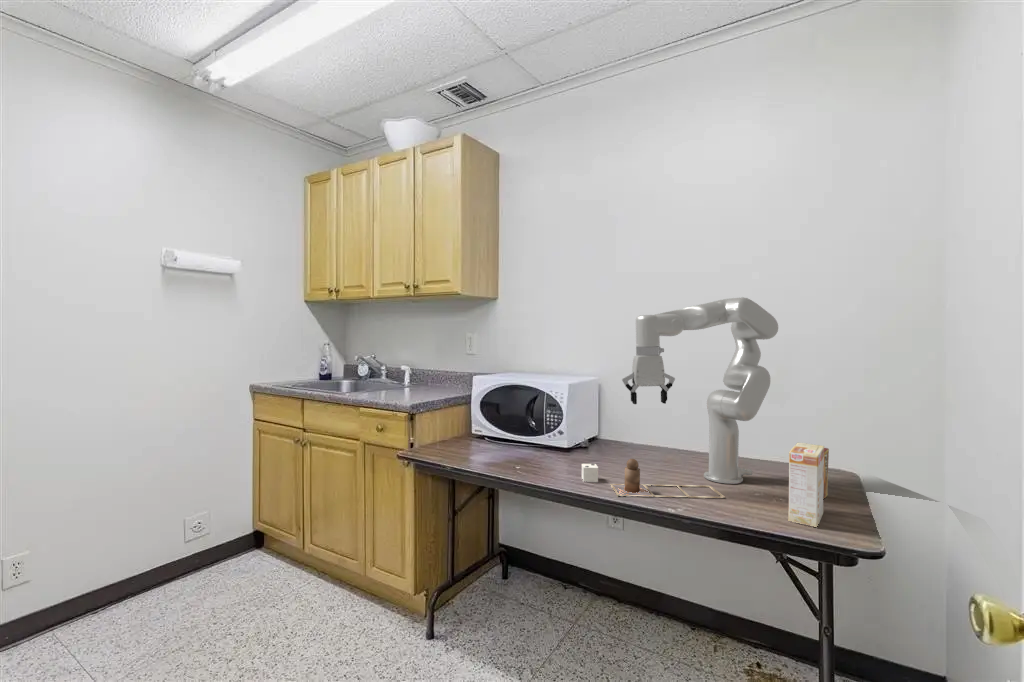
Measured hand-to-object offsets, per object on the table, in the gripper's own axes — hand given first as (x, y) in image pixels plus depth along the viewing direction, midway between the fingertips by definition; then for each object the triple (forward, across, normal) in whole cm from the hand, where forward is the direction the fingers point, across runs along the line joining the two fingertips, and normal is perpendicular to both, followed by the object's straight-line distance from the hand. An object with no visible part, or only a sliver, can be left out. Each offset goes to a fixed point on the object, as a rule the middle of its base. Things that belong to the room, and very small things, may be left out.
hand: (649, 403), depth 156 cm
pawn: (+27, +7, +5) cm, 29 cm away
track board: (+28, -4, +5) cm, 29 cm away
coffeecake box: (+29, -36, +25) cm, 53 cm away
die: (+27, +19, -6) cm, 34 cm away
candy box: (+30, -50, +8) cm, 59 cm away
